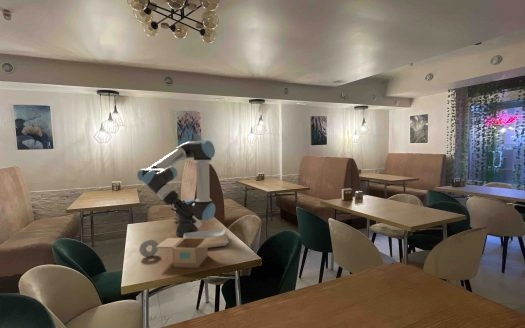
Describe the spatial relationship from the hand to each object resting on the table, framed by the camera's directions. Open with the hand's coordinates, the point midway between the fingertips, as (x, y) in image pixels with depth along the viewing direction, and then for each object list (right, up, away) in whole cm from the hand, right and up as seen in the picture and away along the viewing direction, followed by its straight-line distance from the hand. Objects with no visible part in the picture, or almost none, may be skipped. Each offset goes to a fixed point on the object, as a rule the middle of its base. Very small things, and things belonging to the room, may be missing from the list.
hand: (200, 226), depth 140 cm
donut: (-31, -19, +10) cm, 38 cm away
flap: (+7, -7, 0) cm, 10 cm away
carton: (-10, -19, +2) cm, 22 cm away
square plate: (-4, -18, +30) cm, 35 cm away
